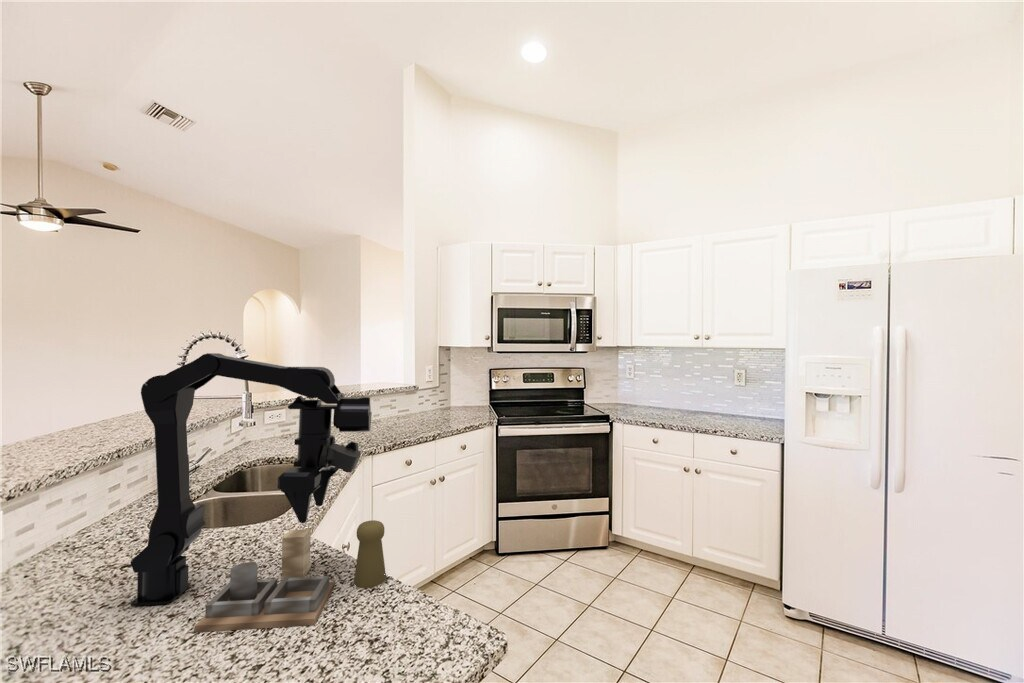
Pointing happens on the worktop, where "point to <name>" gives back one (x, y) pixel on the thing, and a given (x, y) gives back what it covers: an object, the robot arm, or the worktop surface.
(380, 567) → the olive green peg figure
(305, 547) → the maple pin
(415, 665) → the worktop surface
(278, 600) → the board
